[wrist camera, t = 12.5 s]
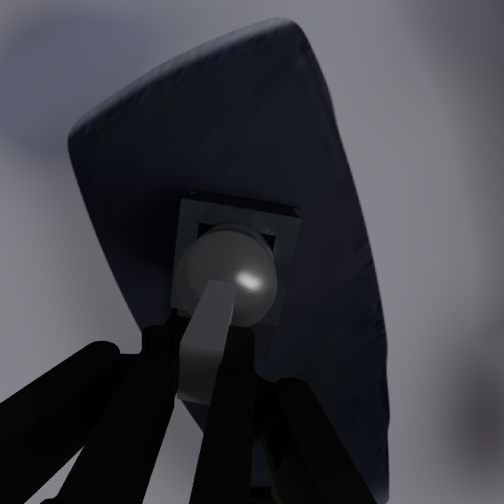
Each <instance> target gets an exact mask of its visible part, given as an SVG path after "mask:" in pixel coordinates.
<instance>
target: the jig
mask: <svg viewBox="0 0 504 504" xmlns="http://www.w3.org/2000/svg"><path fill="white" fill-rule="evenodd" d="M300 212H301V209H300V208H297V207H291V206H286V205H281V204H275V203H270V202H264V201H259V200H253V199H247V198H241V197H235V196H229V195H223V194H217V193H210V192H204V191H197V190H192V191H190V195H189V196H186V197H184V198H181V205H180V213H179V221H178V229H177V238H176V247H175V257H174V267H173V279H172V291H171V304H170V307H173V308H177V315H178V316H183V317H188V318H192V316H191V315H190V314H189V313H188V312H187V311H186V310H185V308H184V307H183V305H182V304H181V302H180V300H179V298H178V295H177V292H176V286H175V273H176V268H177V265H178V262H179V260H180V258H181V256H182V255H183V253H184V252H185V251H186V250H187V248H188V247H190V246H191V245H192V244H193V243H194V242H195V241H196V240H197V239H198V238H199V237H200V236H201V235H202V234H203V233H205V232H206V231H207V230H209V229H211V228H213V227H215V226H218V225H221V224H227V223H235V224H241V225H245V226H248V227H250V228H252V229H254V230H255V231H257V232H258V233H259V234H260V235H262V236H263V238H264V239H265V240H266V241H267V243H268V244H269V246H270V248H271V250H272V253H273V257H274V262H275V269H276V275H277V292H276V296H275V299H274V302H273V304H272V306H271V308H270V309H269V311H268V312H267V313H266V314H265V315H264V316H263V318H261V319H260V320H259V321H258V322H256V323H254V324H253V325H251V326H248V327H246V328H251V329H252V331H253V332H254V334H255V347H254V358H259V359H266V360H267V359H268V355H269V351H270V347H271V343H272V339H273V335H274V330H275V326H278V322H279V317H280V313H281V309H282V305H283V300H284V296H285V292H286V287H287V283H288V278H289V274H290V269H291V265H292V260H293V256H294V251H295V246H296V242H297V237H298V232H299V227H300V222H301V218H300Z"/></svg>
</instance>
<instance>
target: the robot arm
mask: <svg viewBox="0 0 504 504" xmlns="http://www.w3.org/2000/svg"><path fill="white" fill-rule="evenodd" d="M236 288H237V284H233V283H227V282H222V281H216V280H211V279H210V280H209V282H208V284H207V286H206V288H205V290H204V292H203V295H202V297H201V299H200V301H199V303H198V305H197V307H196V310H195V312H194V314H193V316H192V318H188V317H183V316H178V315H174V316H172V317H170V318H168V319H167V321H166V322H165V324H164V326H161V325H153V326H148V327H145V328H144V329H143V330H142V350H141V352H140V353H139V354H120V350H119V348H118V346H116V345H115V344H114V343H111V342H108V341H95V342H93V343H90V344H88V345H87V346H85V347H84V348H83V349H81V350H79V351H78V352H76V353H75V354H73V355H72V356H70V357H69V358H67V359H66V360H64V361H63V362H61V363H60V364H58V365H57V366H55V367H54V368H52V369H51V370H49V371H48V372H46V373H45V374H43V375H42V376H40V377H39V378H37V379H36V380H34V381H33V382H31V383H30V384H28V385H27V386H25V387H24V388H22V389H21V390H19V391H18V392H16V393H15V394H14V395H12V396H10V397H9V398H7V399H6V400H4V401H3V402H1V403H0V504H24V503H25V502H26V501H27V500H28V499H29V498H30V497H32V496H33V495H34V494H35V493H36V492H37V491H38V490H39V489H40V488H41V487H42V486H43V485H44V484H45V483H46V482H47V481H48V480H49V479H50V478H51V477H53V476H54V475H55V474H56V473H57V472H58V471H59V470H60V469H61V468H62V467H63V466H64V465H65V464H66V463H67V462H68V461H69V460H70V459H71V458H72V457H73V456H74V455H75V454H76V453H77V452H78V451H79V450H80V449H81V448H82V447H83V446H84V447H83V449H82V451H81V452H80V454H79V456H78V458H77V460H76V462H75V463H74V465H73V467H72V469H71V471H70V472H69V474H68V476H67V478H66V480H65V482H64V483H63V485H62V487H61V489H60V491H59V493H58V494H57V496H56V497H54V498H51V499H45V500H44V501H42V502H41V503H40V504H142V503H143V499H144V496H145V493H146V490H147V487H148V484H149V481H150V478H151V475H152V472H153V469H154V466H155V462H156V459H157V457H158V454H159V451H160V447H161V445H162V442H163V439H164V436H165V433H166V430H167V427H168V424H169V421H170V418H171V415H172V412H173V409H174V398H175V395H176V393H177V399H181V400H186V401H190V402H195V403H200V404H205V405H210V407H209V412H208V417H207V421H206V426H205V431H204V435H203V440H202V445H201V450H200V454H199V459H198V463H197V468H196V473H195V478H194V482H193V487H192V492H191V497H190V501H189V504H279V503H277V502H276V501H275V500H274V499H273V498H272V493H271V488H261V489H253V490H250V487H251V466H252V444H253V431H254V432H257V433H260V439H261V442H262V445H263V448H264V451H265V454H266V457H267V460H268V464H269V467H270V470H271V473H272V476H273V479H274V482H275V485H276V487H277V490H278V493H279V496H280V499H281V502H282V504H377V502H376V501H375V499H374V497H373V496H372V494H371V492H370V490H369V489H368V487H367V485H366V484H365V482H364V480H363V478H362V477H361V475H360V473H359V472H358V470H357V468H356V466H355V465H354V463H353V461H352V459H351V458H350V456H349V454H348V453H347V451H346V449H345V447H344V446H343V444H342V442H341V440H340V439H339V437H338V435H337V433H336V432H335V430H334V428H333V426H332V425H331V423H330V421H329V419H328V418H327V416H326V414H325V412H324V410H323V409H322V407H321V405H320V403H319V402H318V400H317V398H316V396H315V395H314V393H313V391H312V389H311V388H310V386H309V385H308V384H307V383H305V382H304V381H302V380H300V379H297V378H291V377H286V378H281V379H279V380H277V381H276V383H272V382H270V381H267V380H265V379H263V378H261V377H260V376H259V375H258V374H257V373H256V372H255V369H254V347H255V334H254V332H253V331H252V329H251V328H246V327H241V326H235V325H230V324H231V318H232V312H233V306H234V300H235V294H236Z"/></svg>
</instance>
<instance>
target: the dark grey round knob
mask: <svg viewBox="0 0 504 504" xmlns="http://www.w3.org/2000/svg"><path fill="white" fill-rule="evenodd" d="M210 279H211V280H216V281H222V282H227V283H233V284H237V288H236V294H235V300H234V306H233V312H232V318H231V324H230V325H235V326H241V327H248V326H251V325H253V324H254V323H256V322H258V321H259V320H260V319H261V318H263V316H264V315H265V314H266V313H267V312H268V311H269V309H270V308H271V306H272V304H273V302H274V299H275V296H276V292H277V275H276V269H275V262H274V257H273V253H272V250H271V248H270V246H269V244H268V243H267V241H266V240H265V239H264V238H263V236H262V235H260V234H259V233H258V232H257V231H255V230H254V229H252V228H250V227H248V226H245V225H241V224H235V223H227V224H221V225H218V226H215V227H213V228H211V229H209V230H207V231H206V232H205V233H203V234H202V235H201V236H200V237H199V238H198V239H197V240H196V241H195V242H194V243H193V244H192V245H191V246H190V247H188V248H187V250H186V251H185V252H184V253H183V255H182V256H181V258H180V260H179V262H178V265H177V268H176V273H175V286H176V292H177V295H178V298H179V300H180V302H181V304H182V305H183V307H184V308H185V310H186V311H187V312H188V313H189V314H190V315H191V316H193V314H194V312H195V310H196V307H197V305H198V303H199V301H200V299H201V297H202V295H203V292H204V290H205V288H206V286H207V284H208V282H209V280H210Z"/></svg>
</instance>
